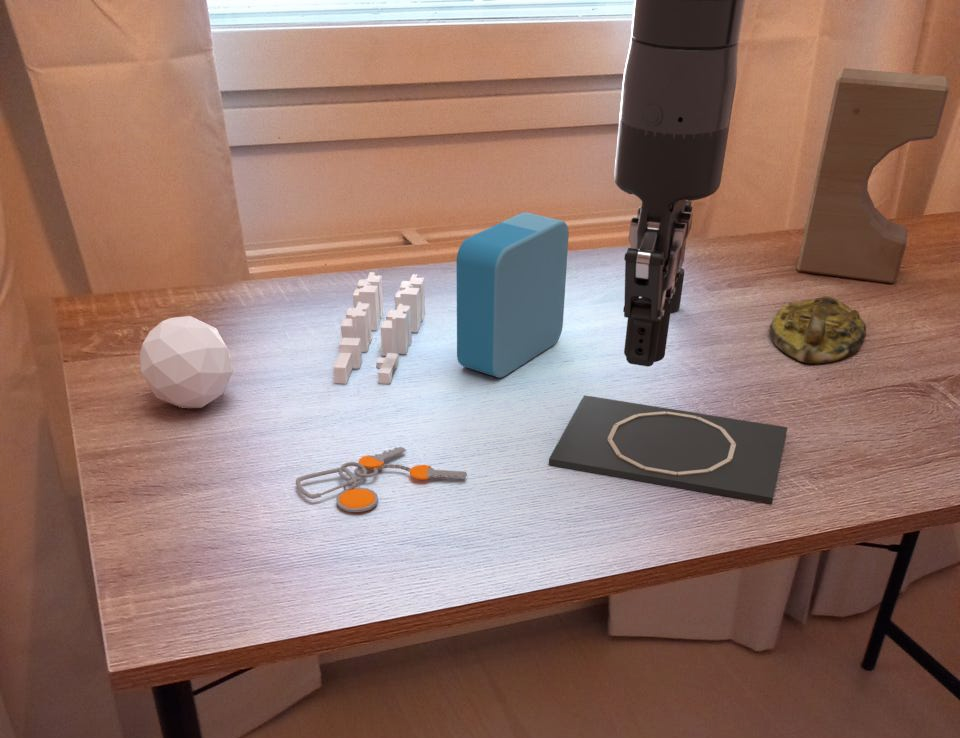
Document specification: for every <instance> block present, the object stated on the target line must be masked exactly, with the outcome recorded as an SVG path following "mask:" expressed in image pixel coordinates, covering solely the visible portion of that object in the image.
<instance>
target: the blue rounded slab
mask: <svg viewBox="0 0 960 738" xmlns="http://www.w3.org/2000/svg"><path fill="white" fill-rule="evenodd" d="M569 233H570V232H569V227H568V225H567V223H566V222H565V221H564V220H561V219H557V218H554V217H553V218H552V217H548V216H543V215H540V214H535V213H530V212H526V211H523V212H520V213H518V214H516V215H514V216H512V217H510V218H508V219H505V220H504V221H501V222H499V223H497V224H495V225H493V226H490V227H488V228H486V229H484V230H482V231H480V232H478V233H476V234H473V235H471V236H469V237H467V238H465V239H464V240H463V241H462V243H461V244H460V246H459V248H458V251H457V255H456V358H457V361H458V363H459V365H460V366H462V367H464V368H467V369H470V370H473V371H475V372H476V371H477V372H479V373H483V374H486V375H489V376H491V377H496V378H499V379H501V378H503V377H506V376H507V375H510V373H512V372H513V371H515V370H517V369H518V368H520V367H521V366H523V365H524V364H526V363H527V362H529V361H531V360H532V359H534V358H535V357H537V356H539V355H540V354H541V353H544V352H545V351H547V350H548V349H550V348H552V346H554V345H555V344H556V343H557V342H558V341H559V339H560V337H561V335H562V331H563V326H564V313H565V299H566V298H565V297H566V284H567V283H566V282H567V281H566V280H567V269H568V268H567V266H568V264H567V263H568V252H569V251H568V249H569V238H570V237H569Z"/></svg>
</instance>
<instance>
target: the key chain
mask: <svg viewBox="0 0 960 738" xmlns="http://www.w3.org/2000/svg"><path fill="white" fill-rule="evenodd" d="M405 452H407V449H406V448H405V447H403V446H398V447H397V446H396V447H394V448H392V449H388V450H384V451H383V452H382V453H378V454H377V453H376V454H374V455H370V454H368V455H363V456H361V457H360V458H359V459H358V462H355V461H348V462H345V463H343V464H342V465H341V466H340V467H337V468H332V469H327V470H322V471H319V472H313V473H309V474H305V475H302V476H300V477H297V478H296V479H295V485H296V488H297V490H298V491H299V492H300V493H301V494H302V495H303V496H305V497H306V498H308V499H310V500H314V499H318V498H321V497H322V496H324V495H327V494H329V493H332V492H334V491H337V490H339V489H343V490H342V491H341V492H339V493H338V494H337V496H336V497H335V501H336V506H337V507H339V509H341V510H343V511H345V512H350V513H363V512H366V511H369V510H372V509H373V508H374V507H376V506H377V504H378V503H379V496H378V494H377V493H376V492H375V491H374V490H372V489H370V488H368V487H367V488H366V487H360V486H359V487H356V485H357V483H358V482H359V483H360V482H361V481H363V480H365V478H373V477H376V475H378V473H379V471H378V470H382V469H397V470H398V469H400V470H404V471H406V472H409V476H410V477H412V478H413V479H415V480H420V481H424V480H429V479H431V478H440V477H441V478H444V479H448V478H450V479H454V478H458V479H463V478H464V479H465V478H466V477H467V476H468V473H467V471H463V470H462V471H461V470H445V469H435V468H433V467H432V465H427V464H416V465H414V466H412V467H408V466H405V465H402V464H401V465H400V464H393V463H389V464H385V462H384V461H386V460H388V459H391V458H393V457H395V456H398V455H400V454H402V453H405ZM348 467H356V468H355V469H354V470H353V472H354V473H353V472H352V471H351V470H350V469H348ZM368 470H371V471H373V472H370V473H368ZM360 471H362V473H361V472H360ZM335 473H336V474H338V475H339V477H340V478H341V479H342V480H344V481H345V482H344V483H342V484H339V485H337V486H335V487H332V488H330V489H328V490H324V491H323V492H320V493H319V492H317V493H310V492H308V491H307V490H306V489H305V488H304V487H303V486H302V483H301V482H304V481H306V480H310V479H313V478H318V477H323V476H326V475H331V474H335ZM344 473H345V474H346V475H348V476H346V475H345V474H344ZM356 476H357V477H356ZM347 486H350V487H349V488H346V487H347Z"/></svg>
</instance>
